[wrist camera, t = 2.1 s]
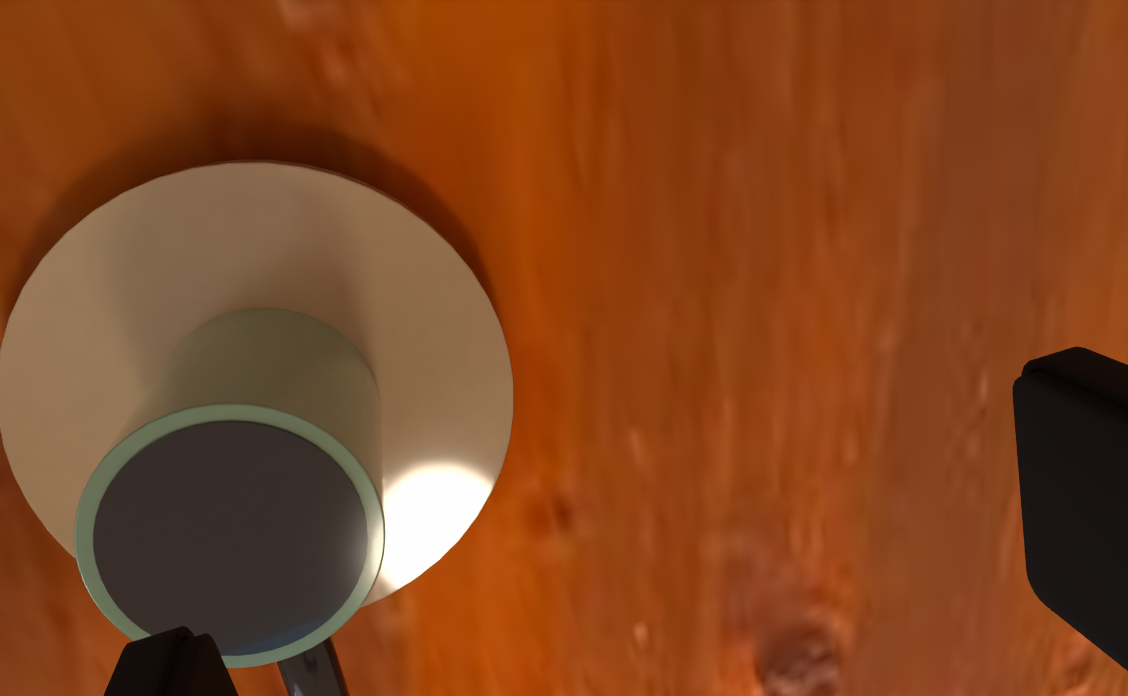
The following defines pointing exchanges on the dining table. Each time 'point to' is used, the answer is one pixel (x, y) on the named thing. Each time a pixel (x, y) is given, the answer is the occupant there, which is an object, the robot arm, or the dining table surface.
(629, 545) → the dining table surface
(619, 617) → the dining table surface
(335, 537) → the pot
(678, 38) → the dining table surface
